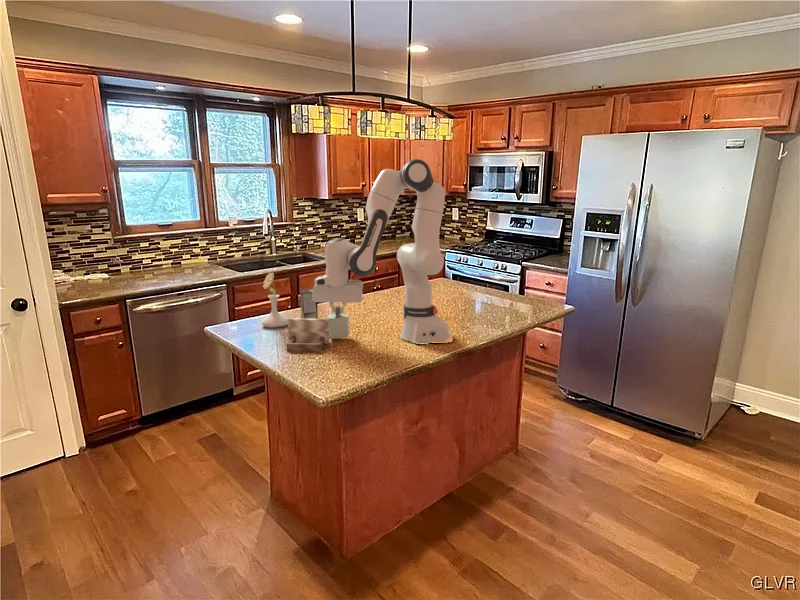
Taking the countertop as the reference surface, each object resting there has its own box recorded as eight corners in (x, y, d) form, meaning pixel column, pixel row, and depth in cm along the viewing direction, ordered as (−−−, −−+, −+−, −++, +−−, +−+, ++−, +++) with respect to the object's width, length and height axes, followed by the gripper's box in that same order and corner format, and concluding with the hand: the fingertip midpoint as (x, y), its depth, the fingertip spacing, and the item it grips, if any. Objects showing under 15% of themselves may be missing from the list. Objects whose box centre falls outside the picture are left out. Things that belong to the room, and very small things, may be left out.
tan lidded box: (328, 342, 192) (328, 318, 189) (324, 352, 181) (324, 327, 179) (289, 341, 192) (288, 318, 189) (283, 351, 181) (281, 326, 179)
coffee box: (318, 327, 210) (317, 292, 206) (304, 329, 208) (302, 293, 204) (314, 322, 218) (313, 288, 214) (300, 323, 216) (299, 289, 212)
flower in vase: (262, 322, 216) (259, 268, 210) (288, 321, 218) (286, 268, 212) (260, 331, 204) (257, 274, 197) (287, 330, 206) (285, 273, 200)
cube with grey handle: (349, 332, 198) (348, 304, 195) (347, 337, 192) (346, 308, 189) (330, 332, 198) (329, 304, 195) (327, 337, 192) (326, 308, 189)
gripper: (363, 277, 192) (364, 310, 196) (313, 277, 192) (314, 310, 196) (362, 281, 186) (362, 314, 189) (310, 280, 186) (311, 314, 189)
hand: (338, 312), depth 193 cm, fingers closed on cube with grey handle
